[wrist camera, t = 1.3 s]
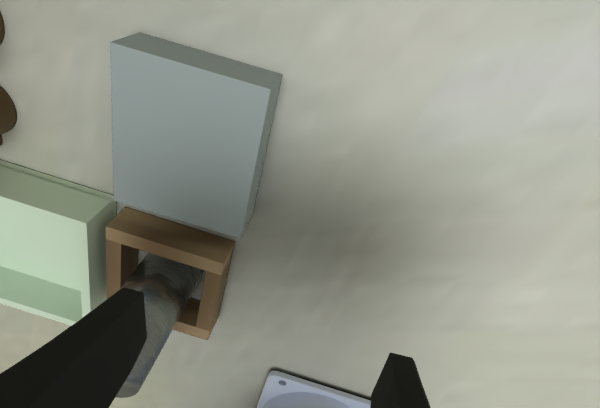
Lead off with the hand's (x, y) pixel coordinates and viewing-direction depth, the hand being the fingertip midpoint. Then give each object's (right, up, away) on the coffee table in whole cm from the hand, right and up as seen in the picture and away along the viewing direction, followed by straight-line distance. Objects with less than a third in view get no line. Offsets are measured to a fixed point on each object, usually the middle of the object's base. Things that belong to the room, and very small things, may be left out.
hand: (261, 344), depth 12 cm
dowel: (-6, +1, +11) cm, 13 cm away
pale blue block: (-3, +7, +7) cm, 11 cm away
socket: (-6, +1, +11) cm, 13 cm away
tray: (-13, +2, +11) cm, 18 cm away
